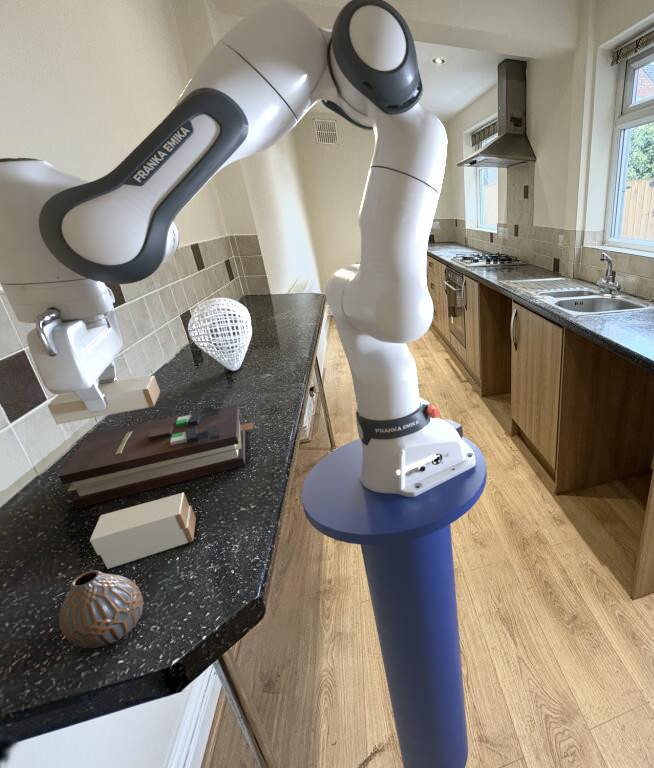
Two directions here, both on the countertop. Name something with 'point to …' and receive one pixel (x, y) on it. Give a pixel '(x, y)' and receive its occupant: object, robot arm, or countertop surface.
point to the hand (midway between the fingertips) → (106, 399)
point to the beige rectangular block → (143, 530)
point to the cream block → (117, 395)
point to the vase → (100, 609)
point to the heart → (199, 335)
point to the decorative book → (155, 454)
